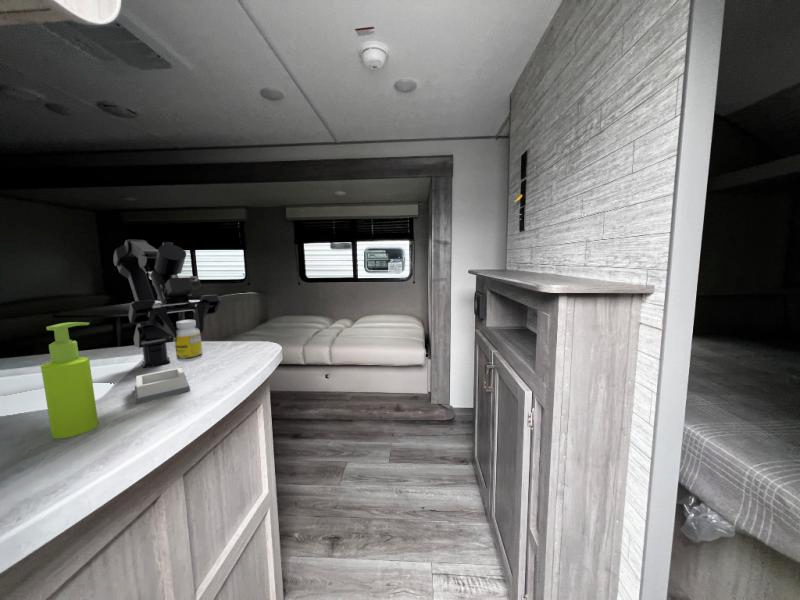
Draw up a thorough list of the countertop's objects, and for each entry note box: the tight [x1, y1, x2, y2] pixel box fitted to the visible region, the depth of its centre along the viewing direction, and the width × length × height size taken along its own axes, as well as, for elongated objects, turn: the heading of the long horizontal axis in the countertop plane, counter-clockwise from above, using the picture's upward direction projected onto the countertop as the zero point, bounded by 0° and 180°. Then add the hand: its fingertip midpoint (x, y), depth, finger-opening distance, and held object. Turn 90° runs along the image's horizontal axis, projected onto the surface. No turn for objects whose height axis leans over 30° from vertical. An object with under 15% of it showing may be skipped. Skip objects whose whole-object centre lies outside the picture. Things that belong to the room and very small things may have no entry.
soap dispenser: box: [40, 321, 99, 439], centre depth 56 cm, size 6×7×20 cm
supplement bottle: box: [173, 319, 203, 363], centre depth 76 cm, size 5×5×10 cm
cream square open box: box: [134, 367, 191, 404], centre depth 73 cm, size 10×10×4 cm
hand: (189, 334), depth 75 cm, fingers closed on supplement bottle, 5 cm apart
